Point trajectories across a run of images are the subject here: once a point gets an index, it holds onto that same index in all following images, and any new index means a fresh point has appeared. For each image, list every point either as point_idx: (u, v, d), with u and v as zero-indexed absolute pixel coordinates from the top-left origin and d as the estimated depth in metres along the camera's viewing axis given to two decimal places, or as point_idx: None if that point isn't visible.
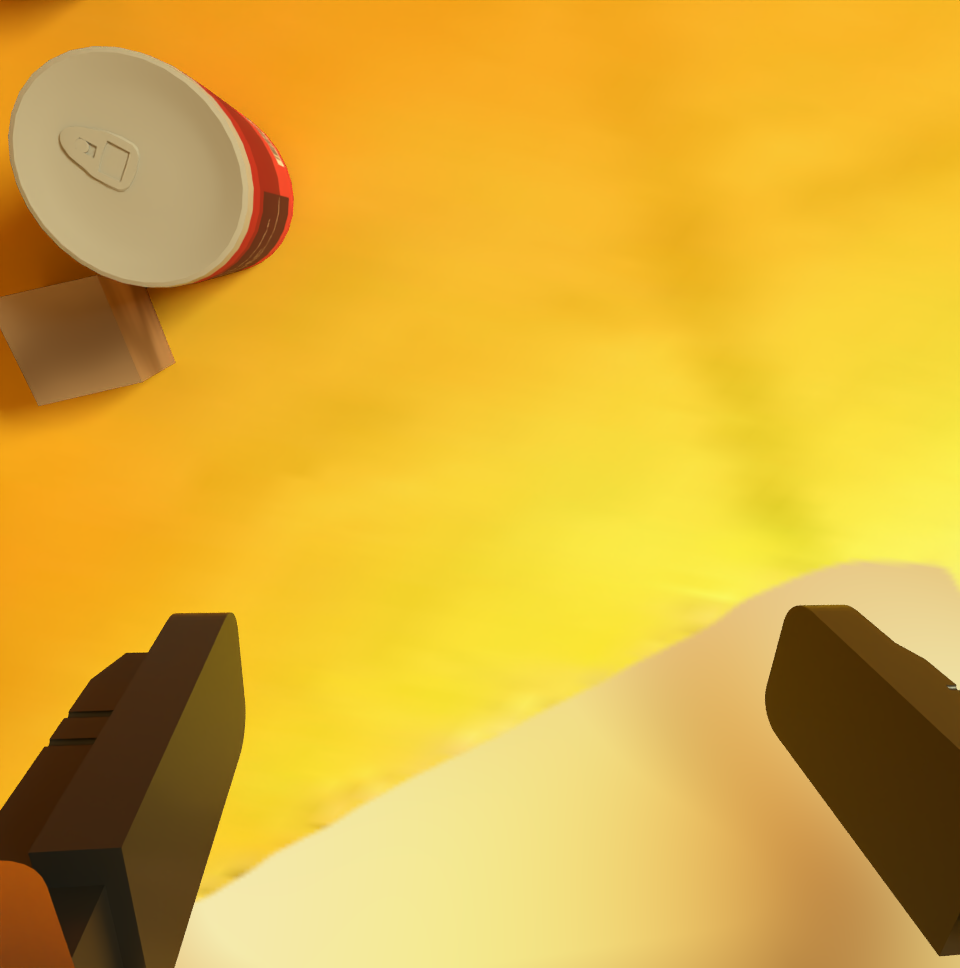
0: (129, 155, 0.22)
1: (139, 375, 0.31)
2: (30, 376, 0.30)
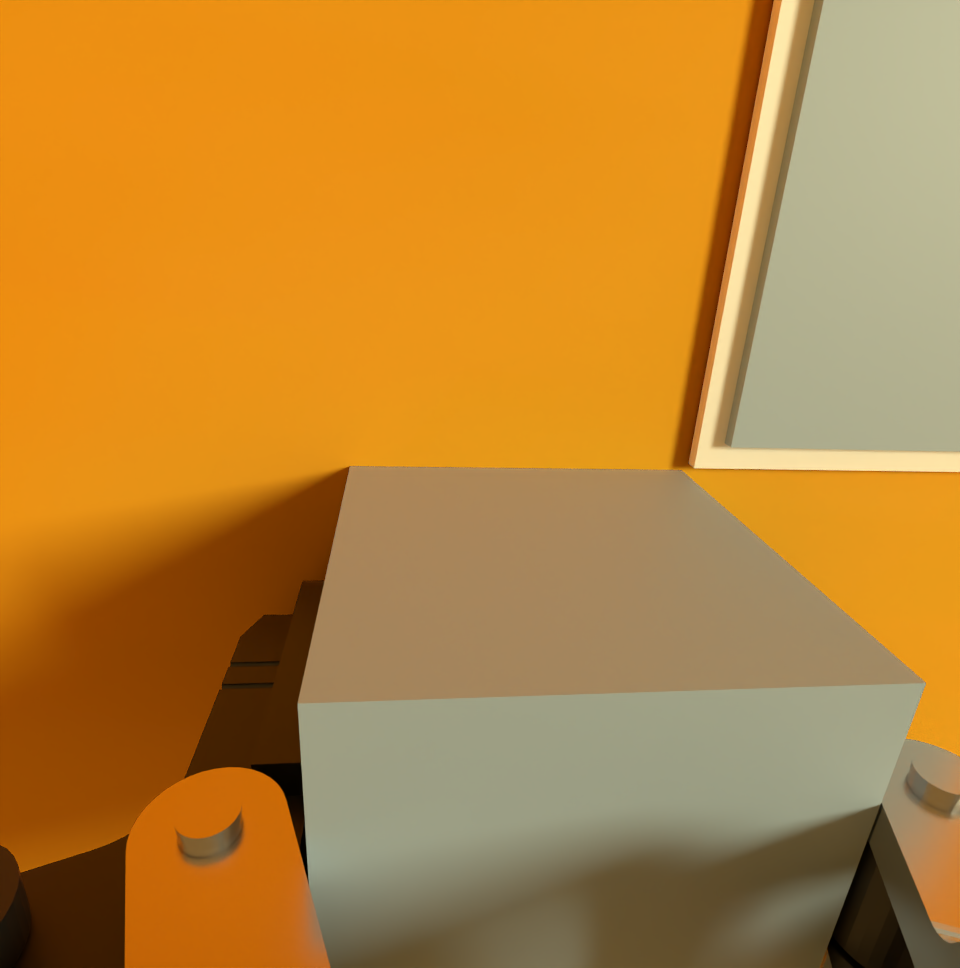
0: None
1: None
2: None
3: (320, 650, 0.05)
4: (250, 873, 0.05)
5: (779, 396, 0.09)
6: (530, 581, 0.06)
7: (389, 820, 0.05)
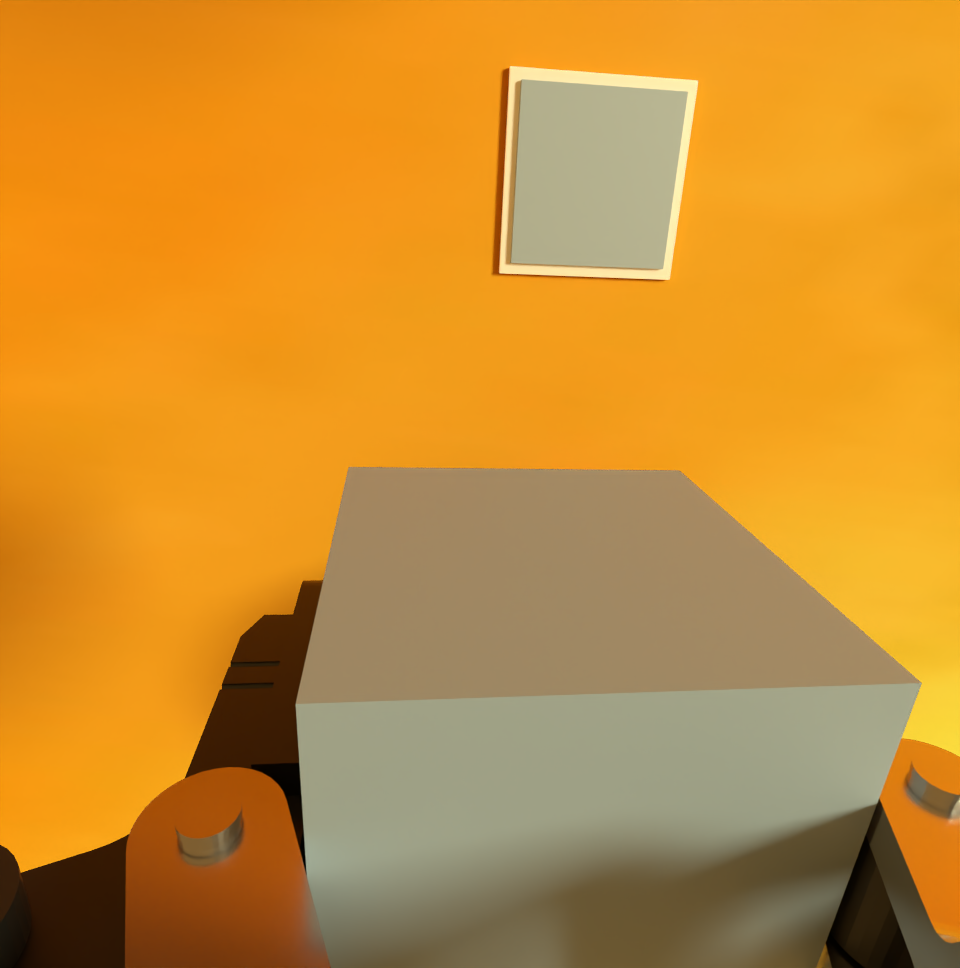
0: None
1: None
2: None
3: (318, 650, 0.05)
4: (250, 872, 0.05)
5: (527, 241, 0.24)
6: (528, 581, 0.06)
7: (386, 820, 0.05)
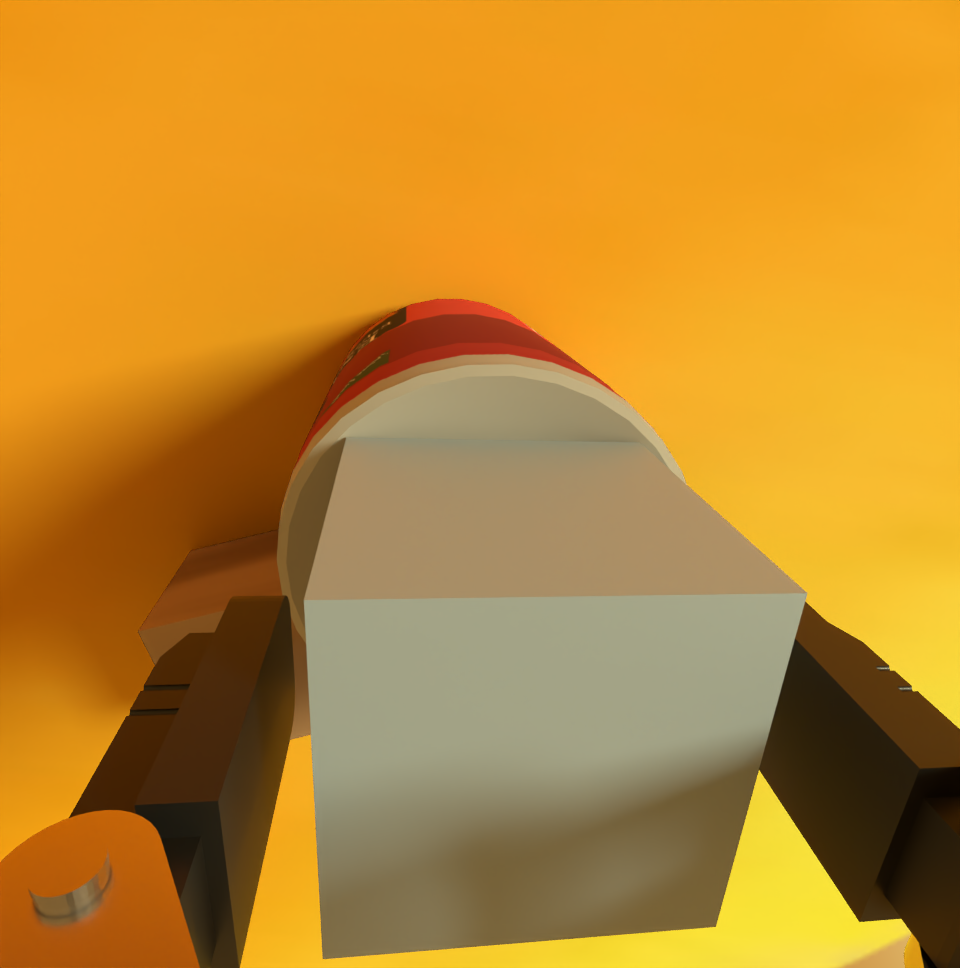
0: None
1: None
2: None
3: (321, 566, 0.06)
4: (104, 935, 0.04)
5: None
6: (496, 522, 0.08)
7: (376, 702, 0.06)
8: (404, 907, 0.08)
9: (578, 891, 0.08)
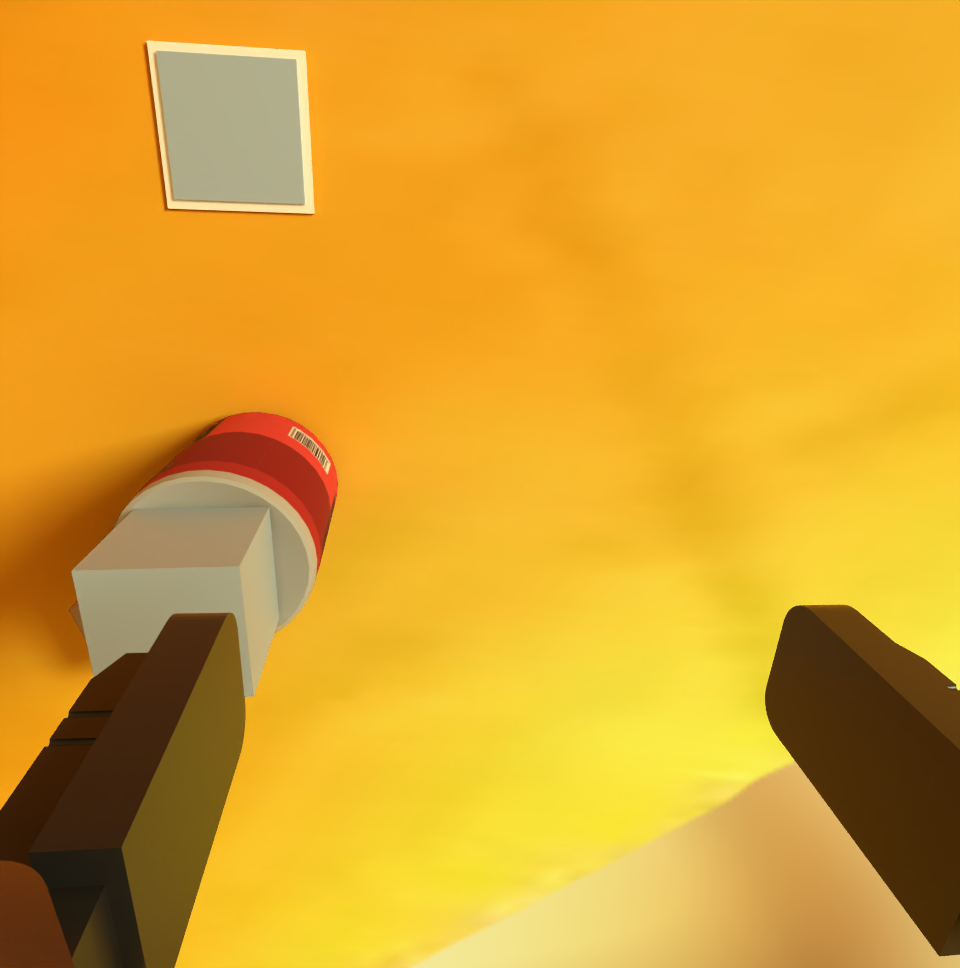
0: None
1: None
2: None
3: (83, 561, 0.20)
4: None
5: (184, 181, 0.30)
6: (159, 545, 0.22)
7: (100, 603, 0.20)
8: None
9: None
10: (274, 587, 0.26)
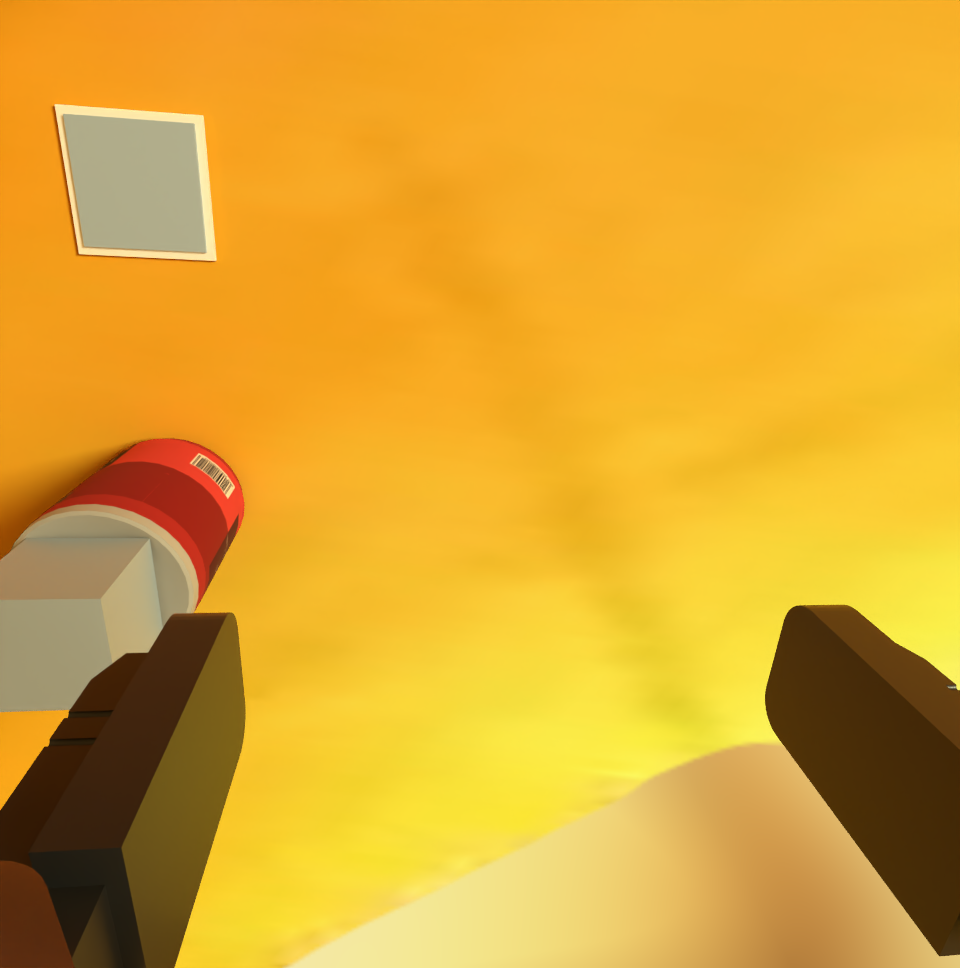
0: None
1: None
2: None
3: None
4: None
5: (93, 230, 0.33)
6: (37, 576, 0.25)
7: None
8: (6, 694, 0.25)
9: (64, 692, 0.25)
10: (156, 608, 0.29)
